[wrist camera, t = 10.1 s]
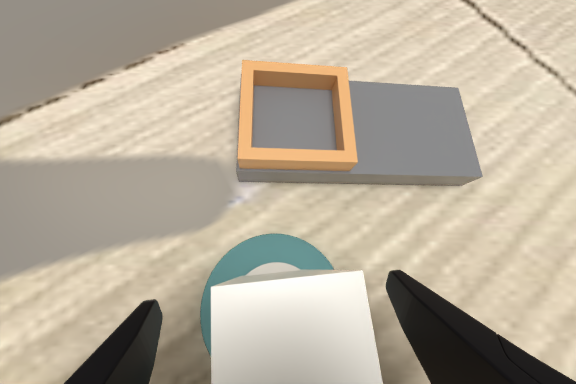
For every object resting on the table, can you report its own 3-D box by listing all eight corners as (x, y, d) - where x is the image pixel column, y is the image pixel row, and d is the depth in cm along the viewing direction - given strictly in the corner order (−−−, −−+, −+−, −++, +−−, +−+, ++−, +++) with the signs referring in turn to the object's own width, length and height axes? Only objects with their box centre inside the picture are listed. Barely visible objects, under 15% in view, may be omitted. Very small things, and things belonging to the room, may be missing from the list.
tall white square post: (233, 360, 14) (180, 545, 5) (231, 267, 16) (185, 264, 6) (320, 347, 15) (427, 485, 5) (310, 259, 16) (378, 245, 7)
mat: (293, 422, 14) (295, 429, 14) (171, 328, 15) (167, 330, 14) (364, 283, 17) (368, 284, 16) (258, 210, 18) (258, 208, 17)
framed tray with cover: (238, 181, 18) (234, 161, 15) (242, 91, 20) (239, 57, 17) (461, 185, 20) (501, 169, 17) (441, 103, 22) (472, 74, 19)
